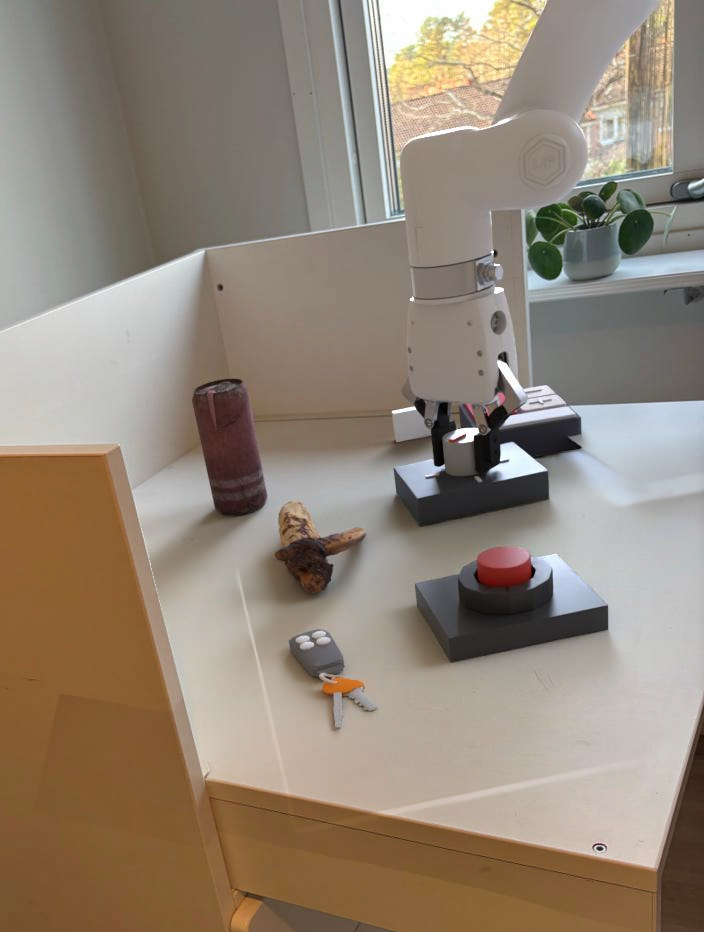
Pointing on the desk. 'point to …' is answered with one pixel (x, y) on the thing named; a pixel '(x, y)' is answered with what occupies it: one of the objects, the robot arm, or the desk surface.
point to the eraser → (409, 424)
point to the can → (230, 446)
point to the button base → (510, 609)
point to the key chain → (328, 669)
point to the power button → (504, 566)
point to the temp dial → (459, 452)
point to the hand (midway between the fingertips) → (466, 463)
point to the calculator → (535, 423)
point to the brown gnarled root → (310, 547)
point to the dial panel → (471, 487)
